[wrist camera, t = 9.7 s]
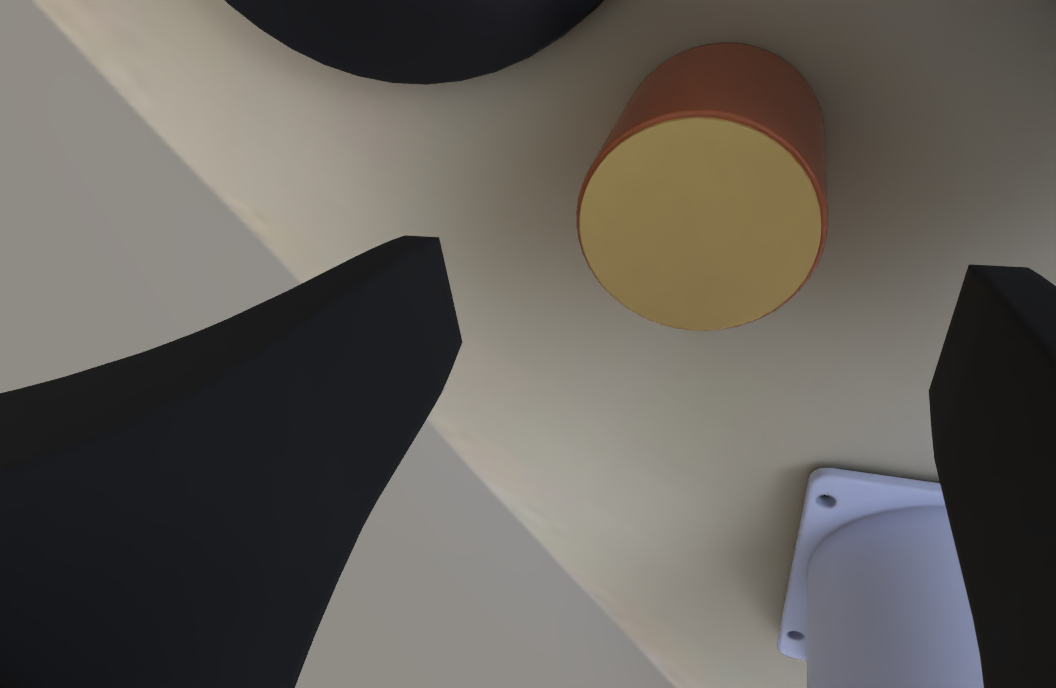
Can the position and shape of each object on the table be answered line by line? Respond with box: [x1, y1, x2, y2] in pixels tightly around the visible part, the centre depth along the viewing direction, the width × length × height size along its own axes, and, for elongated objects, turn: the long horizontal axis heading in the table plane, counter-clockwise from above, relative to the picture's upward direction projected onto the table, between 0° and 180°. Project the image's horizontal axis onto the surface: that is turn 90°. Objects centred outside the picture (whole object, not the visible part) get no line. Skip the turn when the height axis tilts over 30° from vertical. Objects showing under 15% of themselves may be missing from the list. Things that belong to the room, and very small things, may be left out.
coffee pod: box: [576, 43, 828, 331], centre depth 13 cm, size 4×4×4 cm
